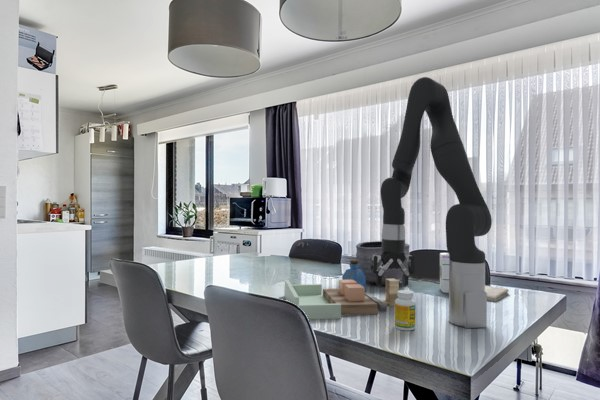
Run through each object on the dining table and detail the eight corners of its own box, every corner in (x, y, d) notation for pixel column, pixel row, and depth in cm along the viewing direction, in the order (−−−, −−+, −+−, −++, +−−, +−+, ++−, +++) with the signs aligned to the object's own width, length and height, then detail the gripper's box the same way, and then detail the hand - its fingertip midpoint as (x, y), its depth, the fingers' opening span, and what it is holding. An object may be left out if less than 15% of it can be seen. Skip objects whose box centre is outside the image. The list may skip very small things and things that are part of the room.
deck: (377, 314, 115) (377, 304, 116) (338, 315, 114) (338, 305, 114) (355, 296, 137) (356, 288, 137) (322, 297, 135) (322, 288, 136)
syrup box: (457, 293, 144) (458, 254, 145) (441, 292, 146) (441, 254, 146) (454, 290, 150) (455, 252, 150) (438, 289, 151) (439, 252, 151)
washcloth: (509, 295, 145) (509, 286, 145) (496, 303, 132) (496, 294, 132) (476, 290, 153) (476, 282, 153) (460, 298, 140) (461, 289, 140)
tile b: (357, 294, 128) (357, 282, 128) (342, 294, 127) (342, 282, 127) (352, 291, 132) (352, 279, 133) (338, 291, 132) (338, 279, 132)
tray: (340, 318, 111) (341, 297, 111) (295, 319, 109) (295, 298, 109) (320, 295, 139) (321, 278, 139) (284, 296, 137) (284, 279, 137)
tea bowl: (372, 273, 180) (372, 236, 179) (418, 280, 167) (418, 240, 166) (345, 285, 160) (345, 244, 159) (396, 294, 147) (396, 249, 146)
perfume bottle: (365, 293, 143) (365, 260, 144) (355, 295, 139) (356, 262, 139) (351, 290, 148) (352, 258, 148) (342, 292, 143) (342, 260, 143)
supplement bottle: (398, 323, 107) (398, 288, 107) (417, 327, 104) (418, 291, 104) (391, 328, 102) (392, 292, 102) (411, 332, 99) (412, 294, 99)
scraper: (406, 310, 120) (406, 284, 120) (380, 311, 119) (380, 285, 119) (387, 298, 136) (387, 275, 136) (363, 298, 135) (364, 275, 135)
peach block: (364, 300, 120) (364, 287, 120) (348, 300, 119) (349, 287, 119) (359, 296, 125) (359, 284, 125) (344, 297, 124) (344, 284, 124)
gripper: (376, 238, 124) (375, 289, 124) (418, 239, 126) (417, 289, 126) (369, 236, 131) (368, 284, 131) (409, 236, 133) (408, 283, 133)
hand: (392, 286), depth 129 cm, fingers open, 8 cm apart
